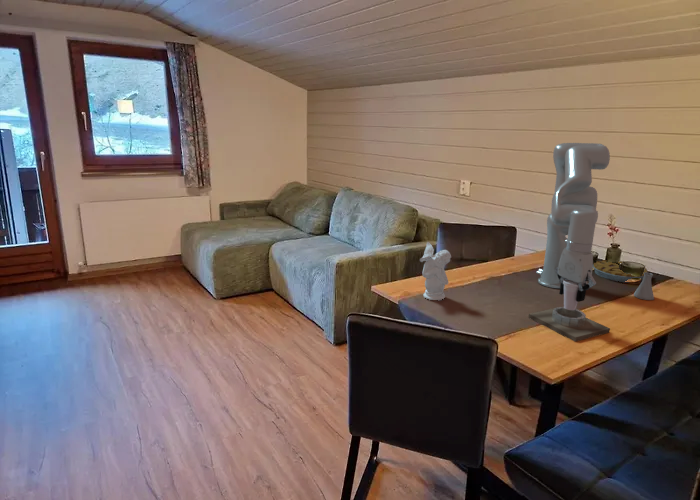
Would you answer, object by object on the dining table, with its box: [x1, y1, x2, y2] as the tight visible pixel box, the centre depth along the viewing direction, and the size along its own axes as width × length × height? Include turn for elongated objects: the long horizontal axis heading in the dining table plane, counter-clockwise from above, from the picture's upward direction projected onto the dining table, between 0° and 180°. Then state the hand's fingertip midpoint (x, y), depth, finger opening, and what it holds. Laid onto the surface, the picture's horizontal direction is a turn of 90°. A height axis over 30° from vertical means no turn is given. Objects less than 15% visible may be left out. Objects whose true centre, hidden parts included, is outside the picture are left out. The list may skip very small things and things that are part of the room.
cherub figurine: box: [419, 241, 452, 301], centre depth 180 cm, size 12×12×22 cm
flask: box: [633, 272, 655, 301], centre depth 182 cm, size 7×7×10 cm
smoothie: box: [563, 279, 584, 310], centre depth 155 cm, size 6×6×14 cm
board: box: [528, 306, 611, 342], centre depth 159 cm, size 20×16×2 cm
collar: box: [552, 306, 587, 327], centre depth 158 cm, size 10×10×3 cm
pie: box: [593, 259, 649, 283], centre depth 208 cm, size 22×22×5 cm
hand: (571, 296), depth 156 cm, fingers closed on smoothie, 6 cm apart
